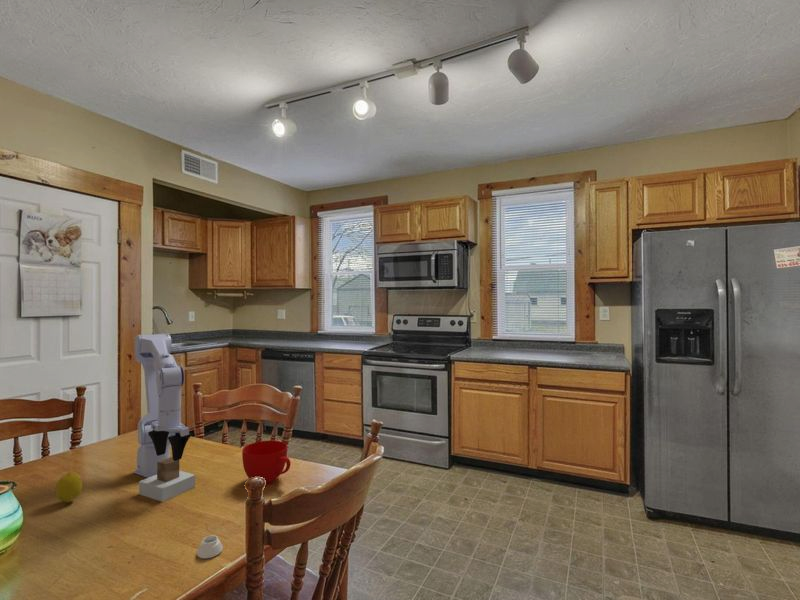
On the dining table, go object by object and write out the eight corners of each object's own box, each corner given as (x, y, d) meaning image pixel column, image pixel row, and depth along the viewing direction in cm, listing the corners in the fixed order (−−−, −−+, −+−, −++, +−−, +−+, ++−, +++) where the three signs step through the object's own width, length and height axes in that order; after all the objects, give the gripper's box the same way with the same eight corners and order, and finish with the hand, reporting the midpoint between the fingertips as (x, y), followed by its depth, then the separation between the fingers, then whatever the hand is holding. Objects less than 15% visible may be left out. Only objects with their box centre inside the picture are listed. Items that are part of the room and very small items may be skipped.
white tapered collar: (213, 543, 92) (191, 555, 88) (213, 530, 92) (192, 541, 88) (227, 550, 90) (206, 563, 85) (227, 537, 90) (206, 548, 85)
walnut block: (157, 479, 117) (157, 461, 117) (170, 474, 120) (170, 456, 120) (165, 482, 115) (165, 464, 115) (179, 476, 118) (179, 459, 118)
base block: (139, 495, 115) (139, 481, 115) (172, 481, 124) (172, 468, 124) (162, 503, 111) (162, 488, 111) (195, 488, 120) (195, 474, 120)
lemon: (87, 499, 112) (87, 470, 112) (64, 509, 106) (65, 478, 106) (73, 496, 113) (73, 467, 113) (50, 505, 108) (50, 475, 108)
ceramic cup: (271, 498, 114) (271, 461, 114) (232, 483, 123) (232, 449, 123) (305, 481, 125) (305, 448, 125) (267, 468, 134) (267, 437, 134)
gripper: (140, 409, 118) (139, 456, 118) (172, 416, 111) (171, 466, 111) (164, 404, 124) (163, 449, 124) (195, 410, 117) (195, 458, 117)
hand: (169, 457), depth 118 cm, fingers open, 7 cm apart
